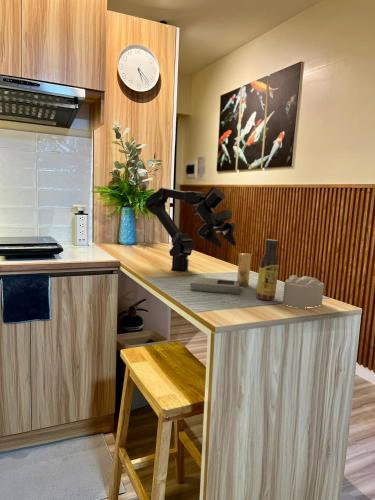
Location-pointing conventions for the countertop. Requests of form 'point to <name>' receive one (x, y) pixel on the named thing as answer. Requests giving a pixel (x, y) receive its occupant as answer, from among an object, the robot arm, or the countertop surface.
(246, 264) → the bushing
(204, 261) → the countertop surface
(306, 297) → the lumpy-topped squat cylinder
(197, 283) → the plate
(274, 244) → the sauce bottle
